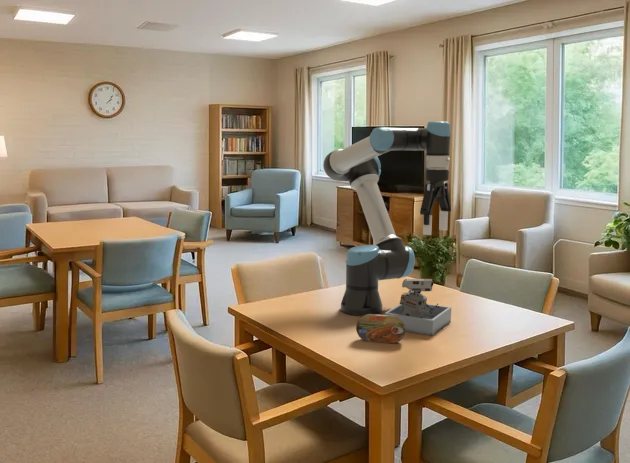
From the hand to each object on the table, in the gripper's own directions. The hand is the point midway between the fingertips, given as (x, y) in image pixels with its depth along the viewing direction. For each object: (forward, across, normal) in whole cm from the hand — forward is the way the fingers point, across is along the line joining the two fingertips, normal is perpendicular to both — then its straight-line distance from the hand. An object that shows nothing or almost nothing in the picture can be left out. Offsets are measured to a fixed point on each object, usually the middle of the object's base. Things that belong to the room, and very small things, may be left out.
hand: (435, 232), depth 211 cm
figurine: (+30, -6, +3) cm, 31 cm away
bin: (+31, -5, +3) cm, 31 cm away
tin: (+31, -28, +5) cm, 43 cm away
